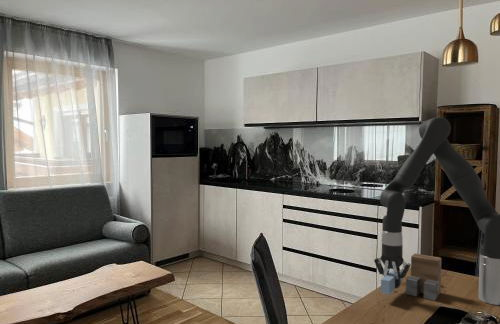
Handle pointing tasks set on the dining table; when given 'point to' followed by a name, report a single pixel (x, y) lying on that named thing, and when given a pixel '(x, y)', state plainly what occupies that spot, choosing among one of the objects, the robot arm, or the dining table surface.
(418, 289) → the brown and grey stand
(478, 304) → the dining table surface
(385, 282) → the blue and white bar
